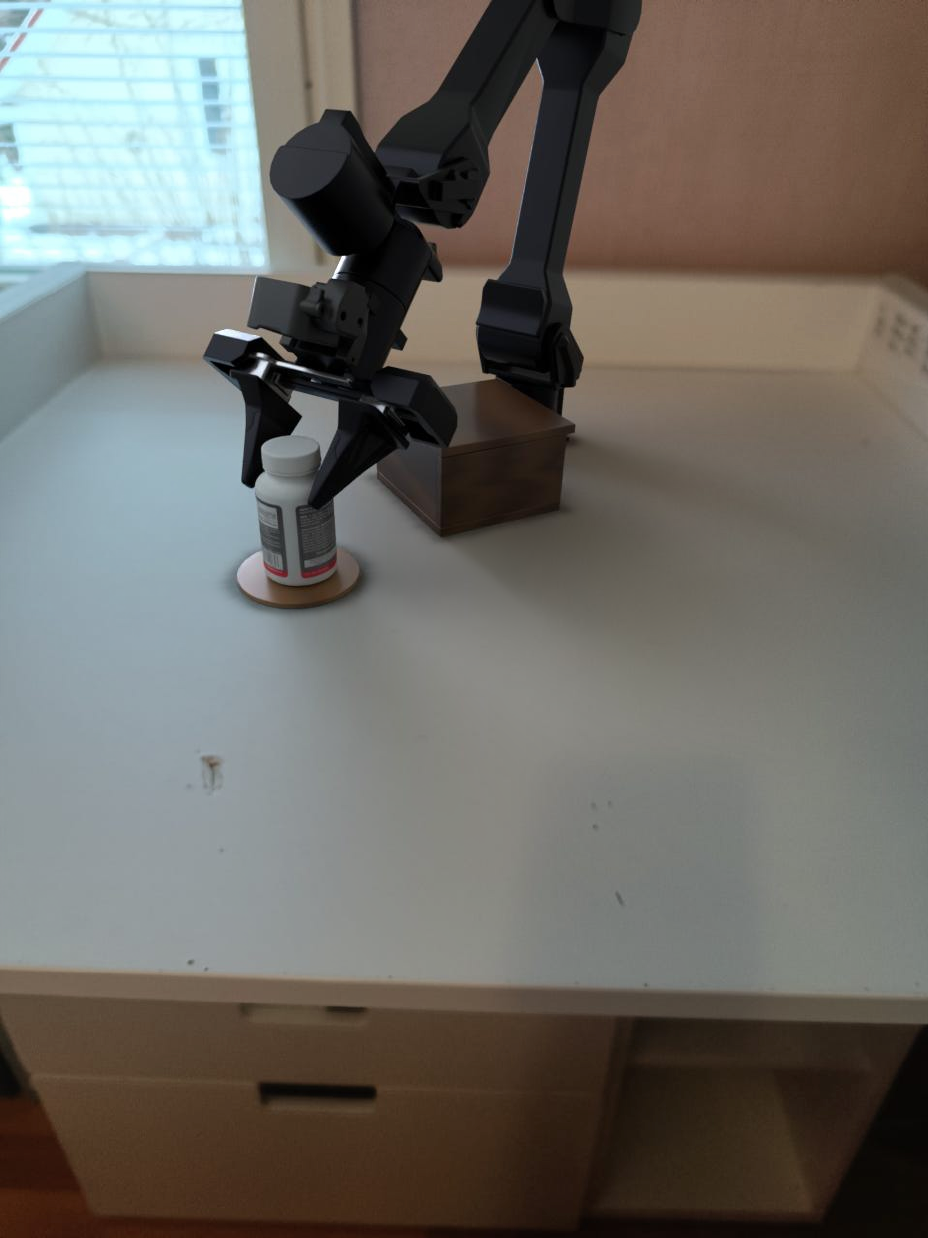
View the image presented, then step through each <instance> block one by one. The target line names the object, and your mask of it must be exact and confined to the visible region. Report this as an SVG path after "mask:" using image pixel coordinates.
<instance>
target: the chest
mask: <svg viewBox="0 0 928 1238" xmlns="http://www.w3.org/2000/svg"><path fill="white" fill-rule="evenodd" d="M567 435H568V434H567ZM567 435H561V436H556V437H550V438H545V439H540V440H534V441H529V442H524V443H518V444H513V445H508V446H502V447H497V448H492V449H486V450H481V451H476V452H470V453H465V454H460V455H454V456H449V457H444V458H441V457H440V456H439V455H437V454H436V453H435V452H434V451H432V450H431V449H430V448H429V447H427V446H426V445H425V444H423V443H419V442H415V441H413V440H412V439H411V438H410V435H409V433H408V434H407V436H406V439H407V440H408V441H409V443H410V445H409V447H408V449H407V450H402V449H396V450H395V451H393V452H392V453H390V454H389V455H388V456H386V457H385V458H383V459H382V460H380V461H379V462H378V463H376V464H375V465H376V479H377V480H379V482H381V483H382V484H383V485H384V486H385V487H386V488H387V489H388V490H389V491H390V492H391V493H392V494H393V495H394V496H395V497H397V498H398V500H400V502H402V503H403V504H404V505H405V506H406V507H408V509H410V510H411V511H412V512H413V513H414V514H415V515H416V516H417V517H418V518H419V519H420V520H421V521H422V522H424V524H425V525H427V526H428V527H429V528H430V529H431V530H432V531H433V532H434V533H435V534H436V535H437V536H438V537H439V538H443V537H448V536H452V535H456V534H460V533H465V532H469V531H473V530H477V529H481V528H485V527H489V526H490V527H491V526H495V525H500V524H503V523H507V522H512V521H515V520H520V519H525V518H528V517H533V516H537V515H542V514H546V513H551V512H554V511H555V512H556V511H558V510H560V509H561V508H560V507H561V500H562V499H561V498H562V489H563V478H564V469H565V468H564V466H565V457H566V448H567V442H566V438H567Z"/></svg>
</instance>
